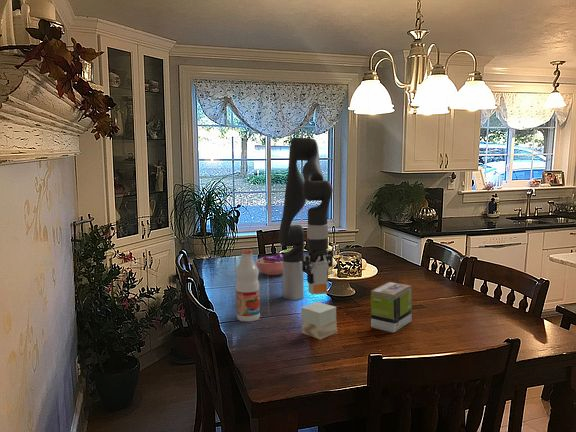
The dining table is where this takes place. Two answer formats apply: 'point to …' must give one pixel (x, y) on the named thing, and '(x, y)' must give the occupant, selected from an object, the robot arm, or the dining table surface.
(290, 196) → the robot arm
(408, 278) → the dining table surface
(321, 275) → the skincare box
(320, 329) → the lower block
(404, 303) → the tea box
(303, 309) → the upper block
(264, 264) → the cell model
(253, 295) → the fruit juice
